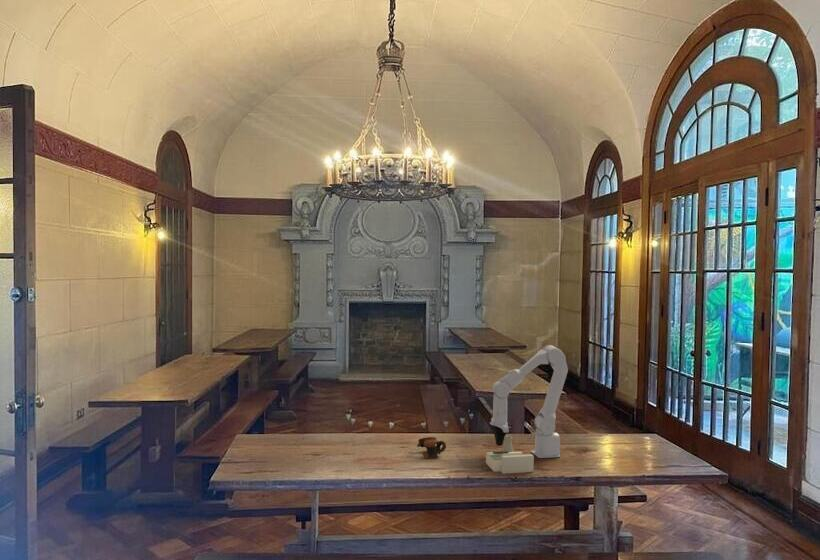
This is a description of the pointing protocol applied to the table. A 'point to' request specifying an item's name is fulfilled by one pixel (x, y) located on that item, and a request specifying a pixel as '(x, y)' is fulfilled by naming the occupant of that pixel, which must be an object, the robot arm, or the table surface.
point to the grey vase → (508, 444)
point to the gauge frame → (510, 463)
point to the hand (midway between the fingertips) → (499, 445)
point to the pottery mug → (431, 447)
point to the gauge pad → (508, 453)
